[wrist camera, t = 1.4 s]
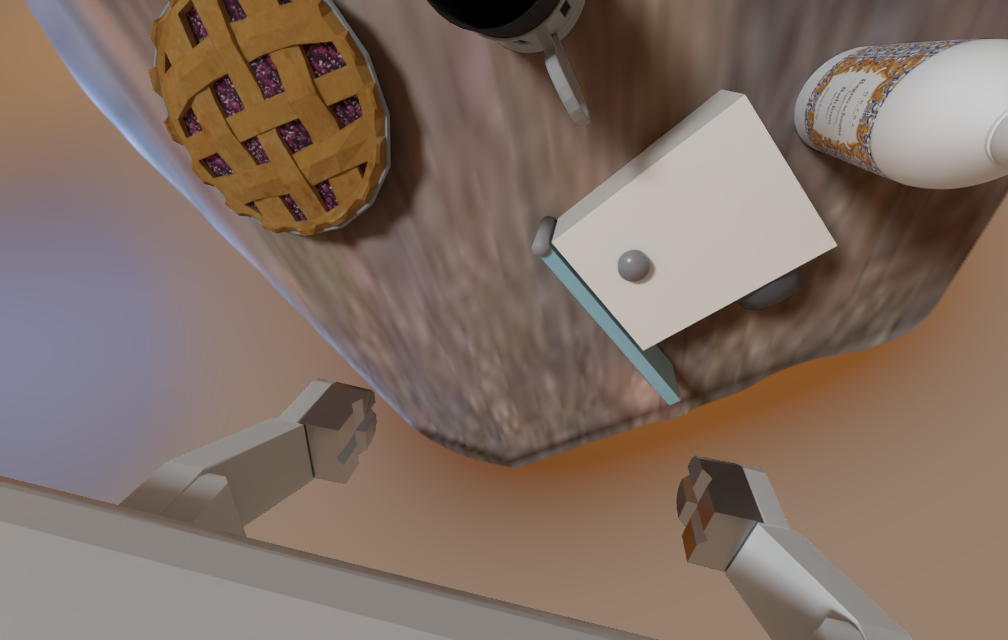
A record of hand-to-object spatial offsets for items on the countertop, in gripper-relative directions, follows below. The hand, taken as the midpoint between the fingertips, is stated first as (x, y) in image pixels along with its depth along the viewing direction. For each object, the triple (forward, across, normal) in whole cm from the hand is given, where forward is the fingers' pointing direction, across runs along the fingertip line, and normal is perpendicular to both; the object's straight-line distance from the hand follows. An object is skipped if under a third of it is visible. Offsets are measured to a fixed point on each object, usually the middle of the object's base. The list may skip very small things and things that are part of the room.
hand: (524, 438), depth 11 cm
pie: (+33, +27, -2) cm, 42 cm away
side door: (+32, -5, +11) cm, 34 cm away
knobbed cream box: (+32, -10, +3) cm, 34 cm away
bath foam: (+32, -19, -8) cm, 38 cm away
